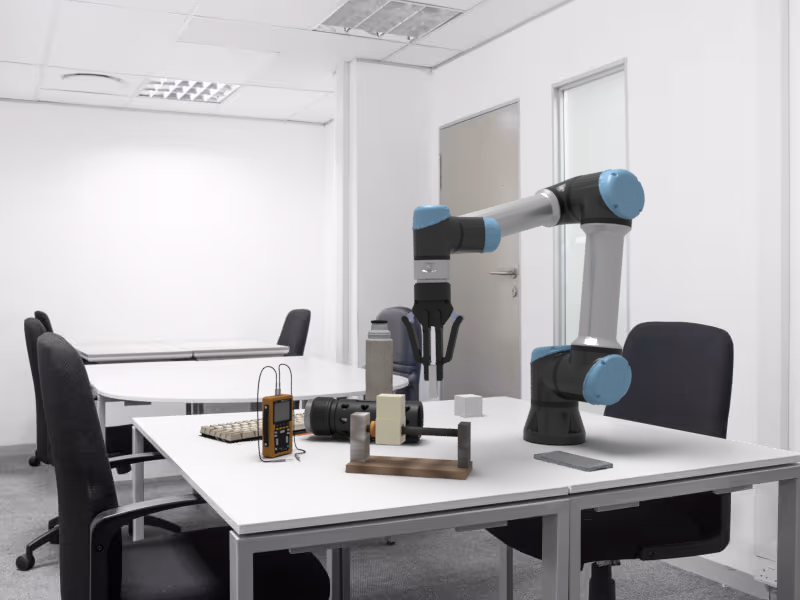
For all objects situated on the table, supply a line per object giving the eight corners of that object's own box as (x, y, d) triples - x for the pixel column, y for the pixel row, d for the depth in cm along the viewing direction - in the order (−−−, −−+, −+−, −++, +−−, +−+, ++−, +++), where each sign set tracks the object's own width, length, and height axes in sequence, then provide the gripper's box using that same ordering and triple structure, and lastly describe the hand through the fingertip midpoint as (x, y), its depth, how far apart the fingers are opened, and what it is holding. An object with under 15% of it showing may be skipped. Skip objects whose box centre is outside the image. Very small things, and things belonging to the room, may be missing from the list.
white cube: (454, 415, 231) (454, 395, 231) (471, 414, 234) (471, 394, 234) (464, 418, 226) (464, 397, 226) (482, 416, 228) (482, 396, 228)
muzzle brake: (416, 447, 183) (417, 402, 183) (302, 441, 189) (302, 398, 188) (423, 439, 192) (424, 397, 192) (314, 434, 198) (314, 394, 198)
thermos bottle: (392, 414, 232) (393, 319, 232) (392, 418, 224) (392, 320, 224) (365, 414, 232) (366, 319, 232) (364, 418, 224) (365, 320, 224)
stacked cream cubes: (405, 440, 161) (405, 394, 161) (399, 444, 156) (400, 397, 156) (381, 439, 162) (382, 393, 162) (375, 443, 157) (375, 396, 157)
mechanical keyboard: (235, 448, 182) (235, 434, 182) (193, 438, 196) (193, 424, 196) (357, 430, 209) (357, 417, 209) (312, 422, 222) (313, 410, 222)
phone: (587, 474, 158) (587, 468, 158) (531, 460, 171) (531, 454, 171) (614, 469, 162) (614, 463, 162) (558, 456, 176) (558, 450, 175)
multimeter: (286, 466, 161) (286, 369, 161) (249, 460, 167) (250, 366, 167) (329, 453, 174) (329, 364, 174) (294, 449, 179) (294, 361, 179)
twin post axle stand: (472, 468, 160) (472, 414, 160) (465, 479, 150) (465, 422, 150) (359, 461, 166) (360, 409, 166) (345, 472, 156) (346, 417, 156)
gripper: (396, 282, 157) (398, 399, 158) (461, 281, 155) (463, 400, 155) (404, 282, 165) (406, 393, 165) (466, 281, 162) (468, 394, 162)
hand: (433, 396), depth 160 cm, fingers closed
